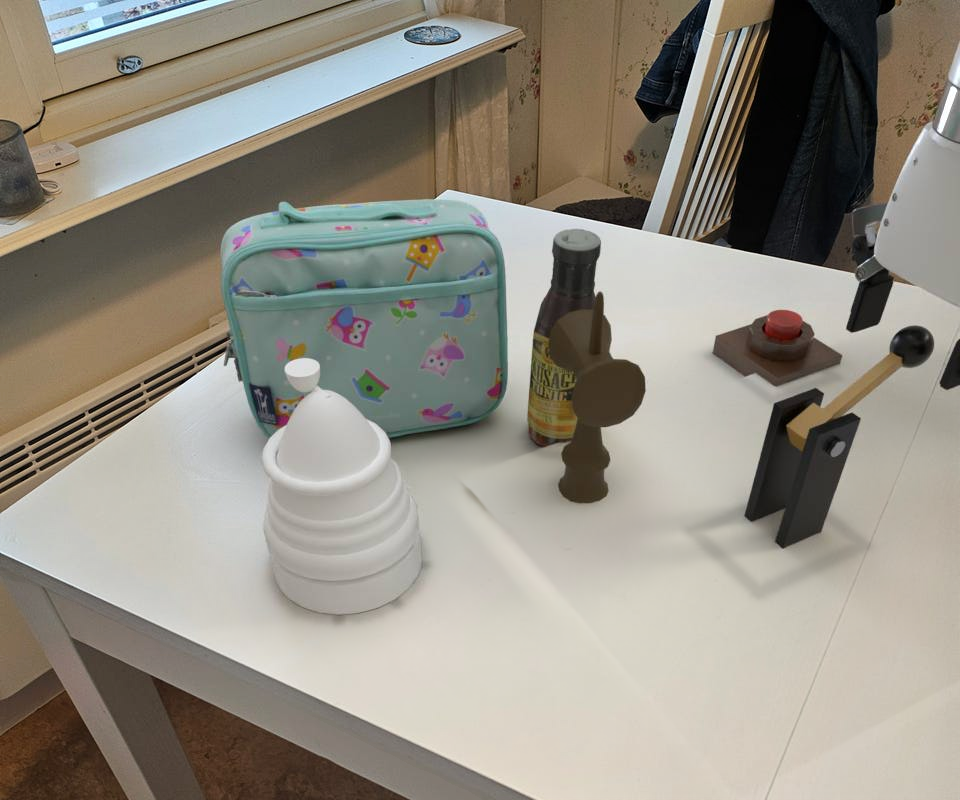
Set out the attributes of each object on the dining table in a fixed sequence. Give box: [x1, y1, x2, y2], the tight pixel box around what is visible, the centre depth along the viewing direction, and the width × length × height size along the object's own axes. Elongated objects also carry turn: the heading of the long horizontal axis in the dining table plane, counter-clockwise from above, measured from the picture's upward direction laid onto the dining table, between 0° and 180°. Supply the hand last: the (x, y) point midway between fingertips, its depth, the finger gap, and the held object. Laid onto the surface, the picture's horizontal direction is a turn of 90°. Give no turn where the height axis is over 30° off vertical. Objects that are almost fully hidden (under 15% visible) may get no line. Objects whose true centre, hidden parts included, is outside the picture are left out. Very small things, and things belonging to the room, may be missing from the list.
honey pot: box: [261, 358, 423, 616], centre depth 71 cm, size 13×13×18 cm
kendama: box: [548, 291, 647, 505], centre depth 76 cm, size 6×10×20 cm, turn 11°
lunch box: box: [220, 198, 509, 439], centre depth 85 cm, size 27×10×21 cm, turn 102°
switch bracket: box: [744, 387, 862, 549], centre depth 75 cm, size 12×9×13 cm
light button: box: [764, 309, 804, 340], centre depth 95 cm, size 4×4×2 cm
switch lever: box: [786, 325, 935, 452], centre depth 71 cm, size 13×3×3 cm, turn 119°
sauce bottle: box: [526, 228, 602, 448], centre depth 83 cm, size 7×6×20 cm
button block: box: [712, 314, 843, 387], centre depth 97 cm, size 9×10×4 cm
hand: (906, 354), depth 71 cm, fingers open, 9 cm apart
